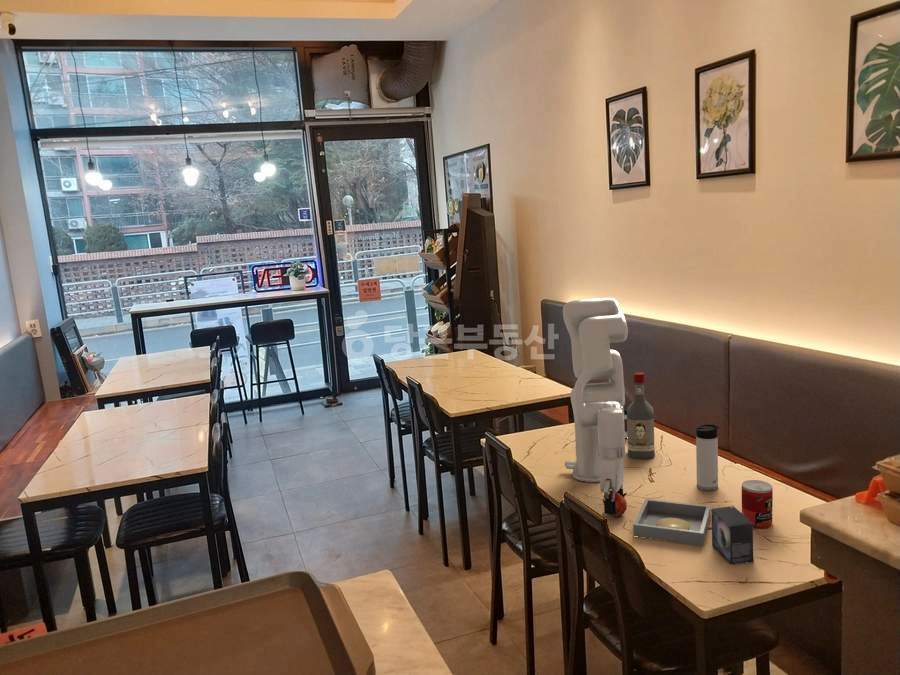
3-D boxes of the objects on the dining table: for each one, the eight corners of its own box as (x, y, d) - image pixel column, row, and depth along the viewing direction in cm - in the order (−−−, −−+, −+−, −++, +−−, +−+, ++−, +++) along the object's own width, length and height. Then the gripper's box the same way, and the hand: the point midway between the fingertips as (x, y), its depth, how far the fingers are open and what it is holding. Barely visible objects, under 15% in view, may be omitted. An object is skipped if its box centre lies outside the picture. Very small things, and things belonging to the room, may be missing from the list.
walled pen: (633, 536, 190) (633, 524, 189) (645, 509, 205) (645, 498, 205) (703, 545, 182) (703, 533, 181) (710, 517, 198) (710, 505, 197)
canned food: (759, 531, 187) (759, 493, 185) (735, 521, 194) (735, 484, 192) (779, 524, 190) (779, 486, 189) (754, 514, 197) (754, 477, 196)
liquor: (628, 450, 256) (626, 370, 251) (654, 450, 253) (652, 370, 248) (628, 458, 247) (625, 376, 242) (654, 459, 245) (652, 376, 240)
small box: (709, 545, 182) (709, 507, 180) (734, 542, 182) (733, 505, 180) (729, 565, 171) (728, 525, 170) (754, 562, 172) (754, 522, 170)
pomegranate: (609, 528, 200) (636, 508, 198) (592, 509, 201) (619, 488, 199) (607, 520, 207) (634, 500, 206) (591, 501, 208) (617, 481, 206)
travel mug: (720, 491, 215) (720, 428, 211) (698, 491, 216) (697, 429, 212) (717, 483, 221) (716, 422, 217) (695, 483, 222) (694, 422, 218)
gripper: (606, 440, 209) (608, 494, 212) (591, 459, 194) (593, 517, 197) (631, 442, 206) (633, 497, 209) (618, 461, 191) (620, 520, 194)
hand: (614, 507), depth 203 cm, fingers open, 9 cm apart
